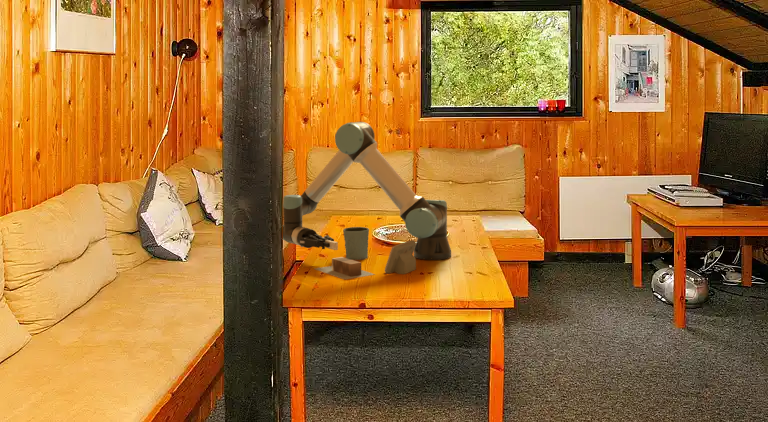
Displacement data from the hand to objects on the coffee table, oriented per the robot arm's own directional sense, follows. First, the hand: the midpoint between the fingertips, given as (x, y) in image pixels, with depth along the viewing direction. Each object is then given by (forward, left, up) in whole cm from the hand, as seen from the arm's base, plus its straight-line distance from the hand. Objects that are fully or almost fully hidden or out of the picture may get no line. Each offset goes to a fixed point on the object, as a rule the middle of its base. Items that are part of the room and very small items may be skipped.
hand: (336, 246), depth 301 cm
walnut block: (0, -1, -7) cm, 7 cm away
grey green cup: (+4, -23, -10) cm, 25 cm away
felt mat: (-4, +1, -9) cm, 10 cm away
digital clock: (-22, -10, -10) cm, 26 cm away
